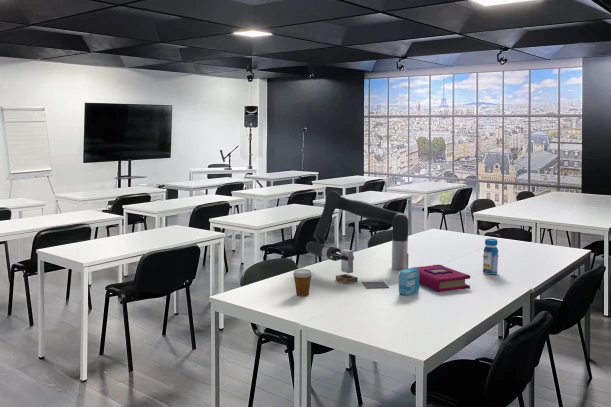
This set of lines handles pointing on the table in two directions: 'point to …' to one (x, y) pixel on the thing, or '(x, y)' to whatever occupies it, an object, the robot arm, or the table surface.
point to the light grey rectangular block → (347, 265)
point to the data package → (408, 281)
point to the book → (442, 278)
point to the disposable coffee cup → (302, 281)
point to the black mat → (375, 284)
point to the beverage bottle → (490, 257)
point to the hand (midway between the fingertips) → (350, 258)
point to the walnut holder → (346, 278)
